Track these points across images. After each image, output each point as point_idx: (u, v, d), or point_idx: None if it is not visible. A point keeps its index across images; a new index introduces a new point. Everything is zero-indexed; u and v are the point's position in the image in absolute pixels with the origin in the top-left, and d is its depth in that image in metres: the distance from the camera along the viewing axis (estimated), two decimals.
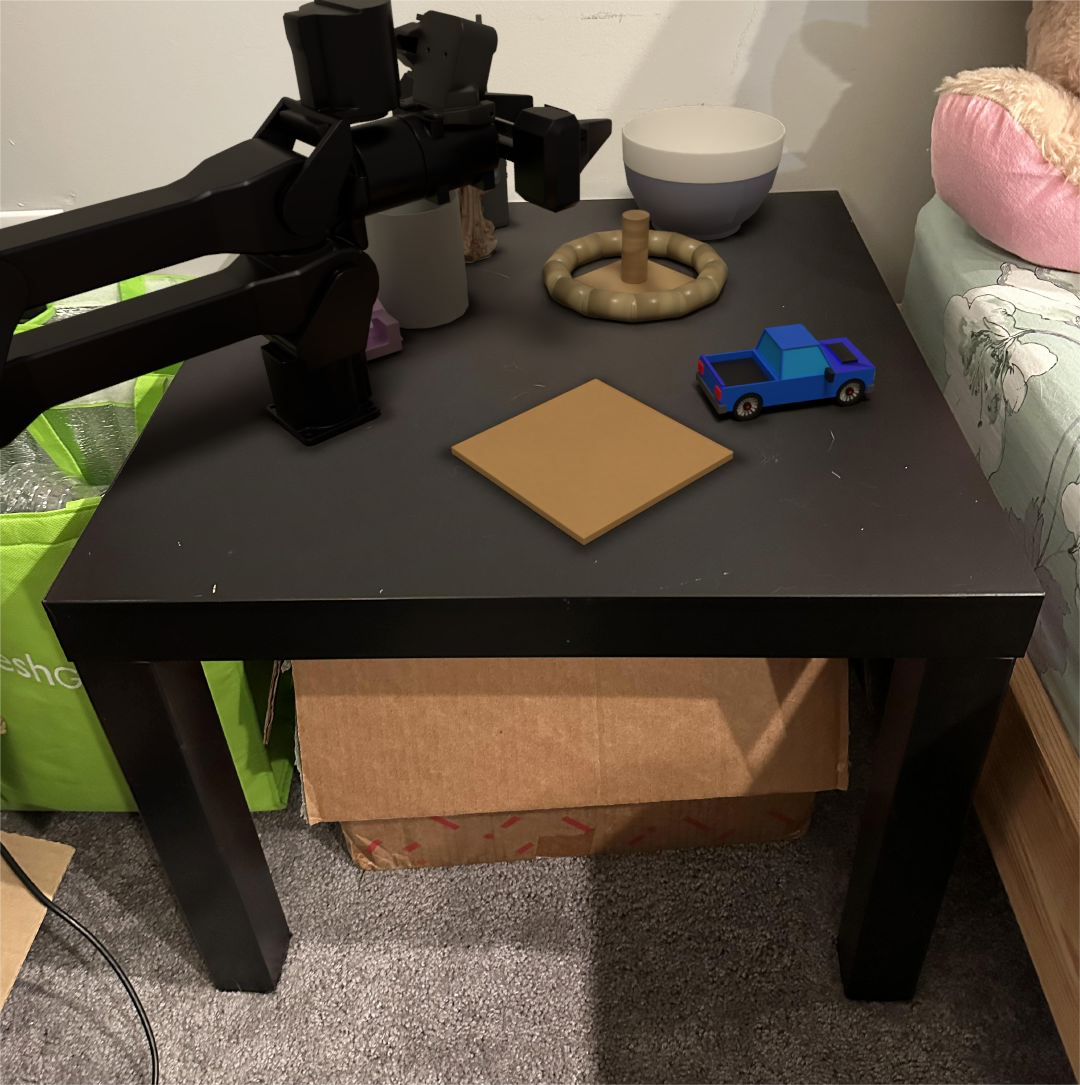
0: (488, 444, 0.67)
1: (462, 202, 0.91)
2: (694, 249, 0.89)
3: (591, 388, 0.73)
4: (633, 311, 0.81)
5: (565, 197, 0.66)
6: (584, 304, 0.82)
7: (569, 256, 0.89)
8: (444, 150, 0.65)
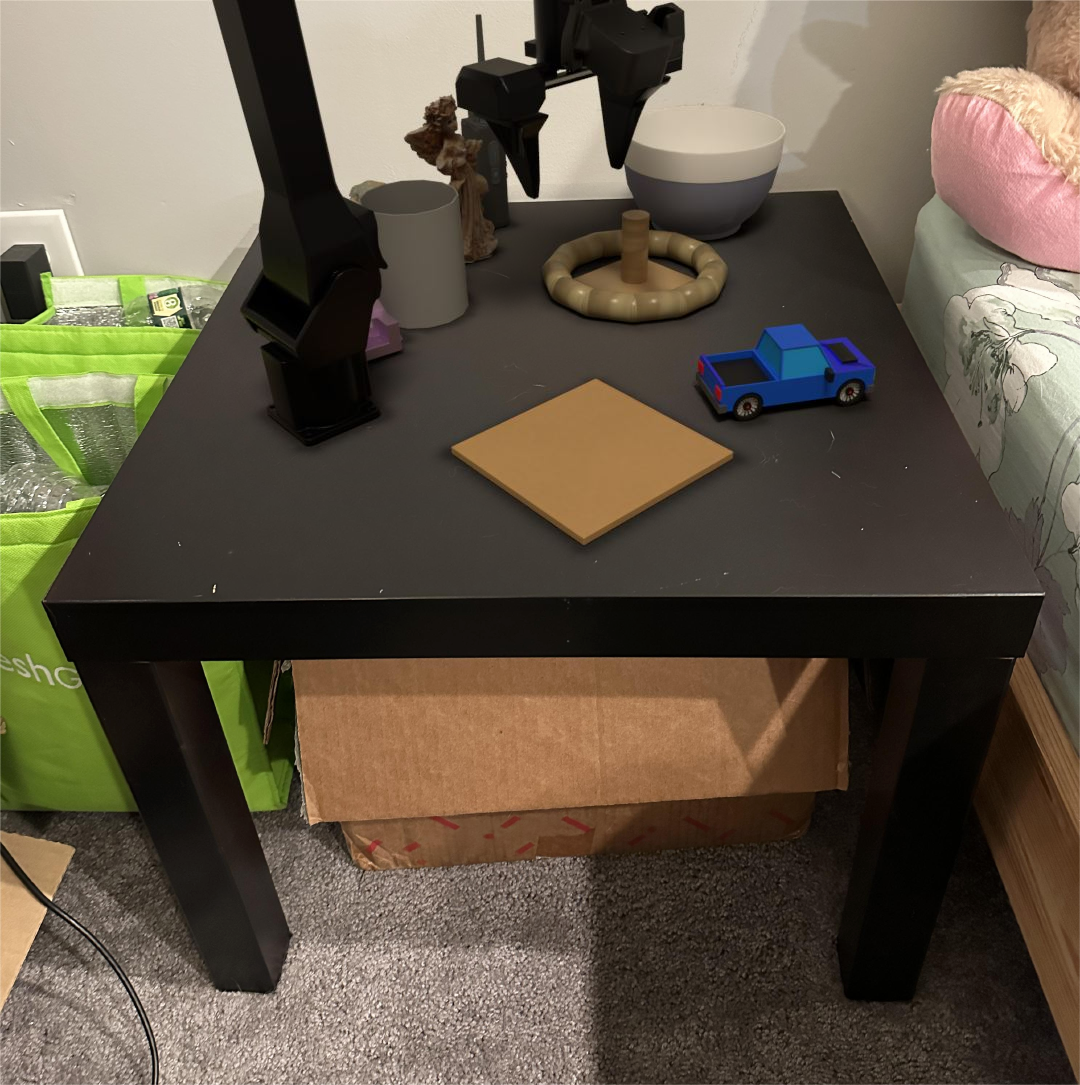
0: (488, 444, 0.67)
1: (462, 202, 0.91)
2: (694, 249, 0.89)
3: (591, 388, 0.73)
4: (633, 311, 0.81)
5: (459, 88, 0.69)
6: (584, 304, 0.82)
7: (569, 256, 0.89)
8: None
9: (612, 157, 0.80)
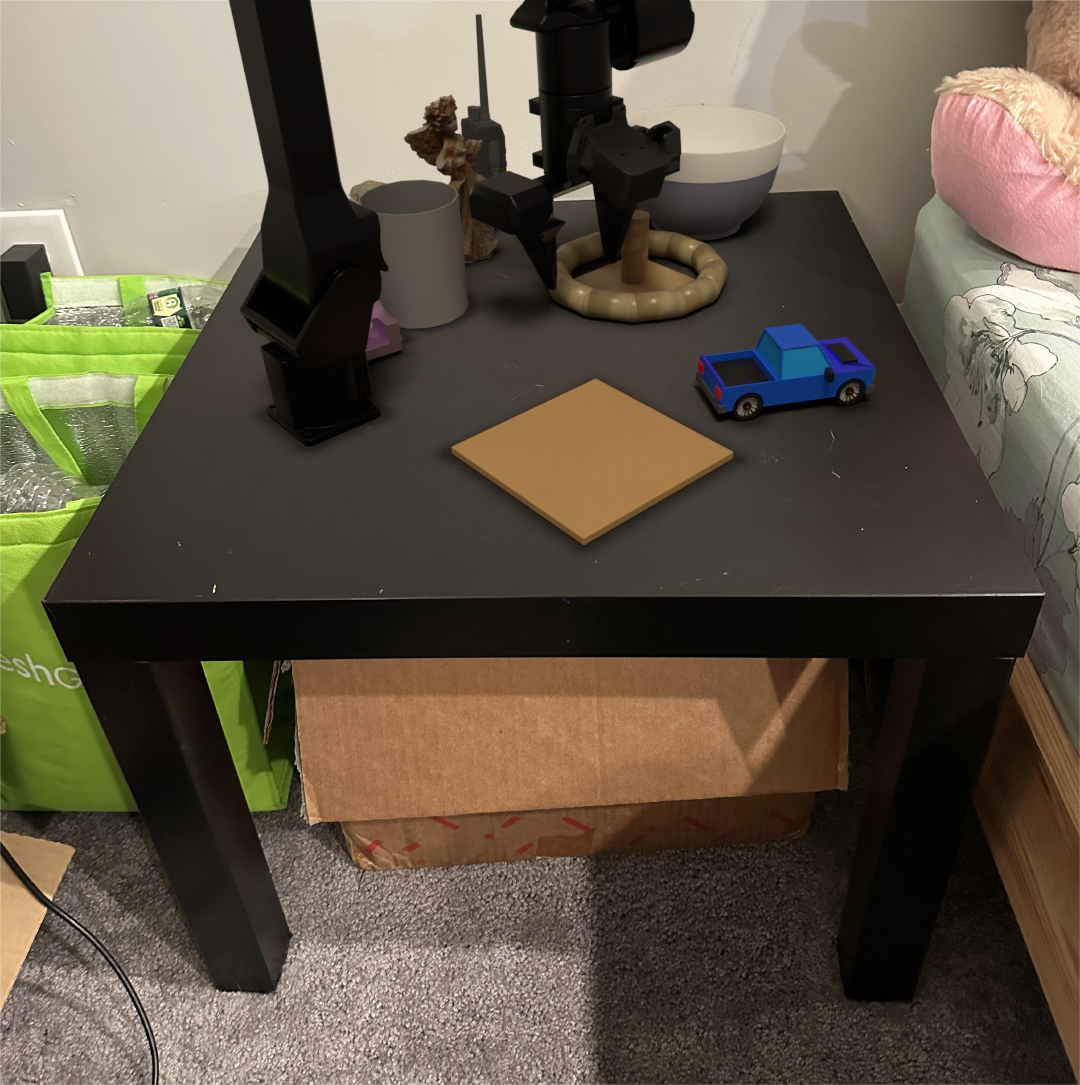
0: (488, 444, 0.67)
1: (462, 202, 0.91)
2: (694, 249, 0.89)
3: (591, 388, 0.73)
4: (633, 311, 0.81)
5: (473, 202, 0.75)
6: (584, 304, 0.82)
7: (569, 256, 0.89)
8: (556, 118, 0.73)
9: (607, 252, 0.85)
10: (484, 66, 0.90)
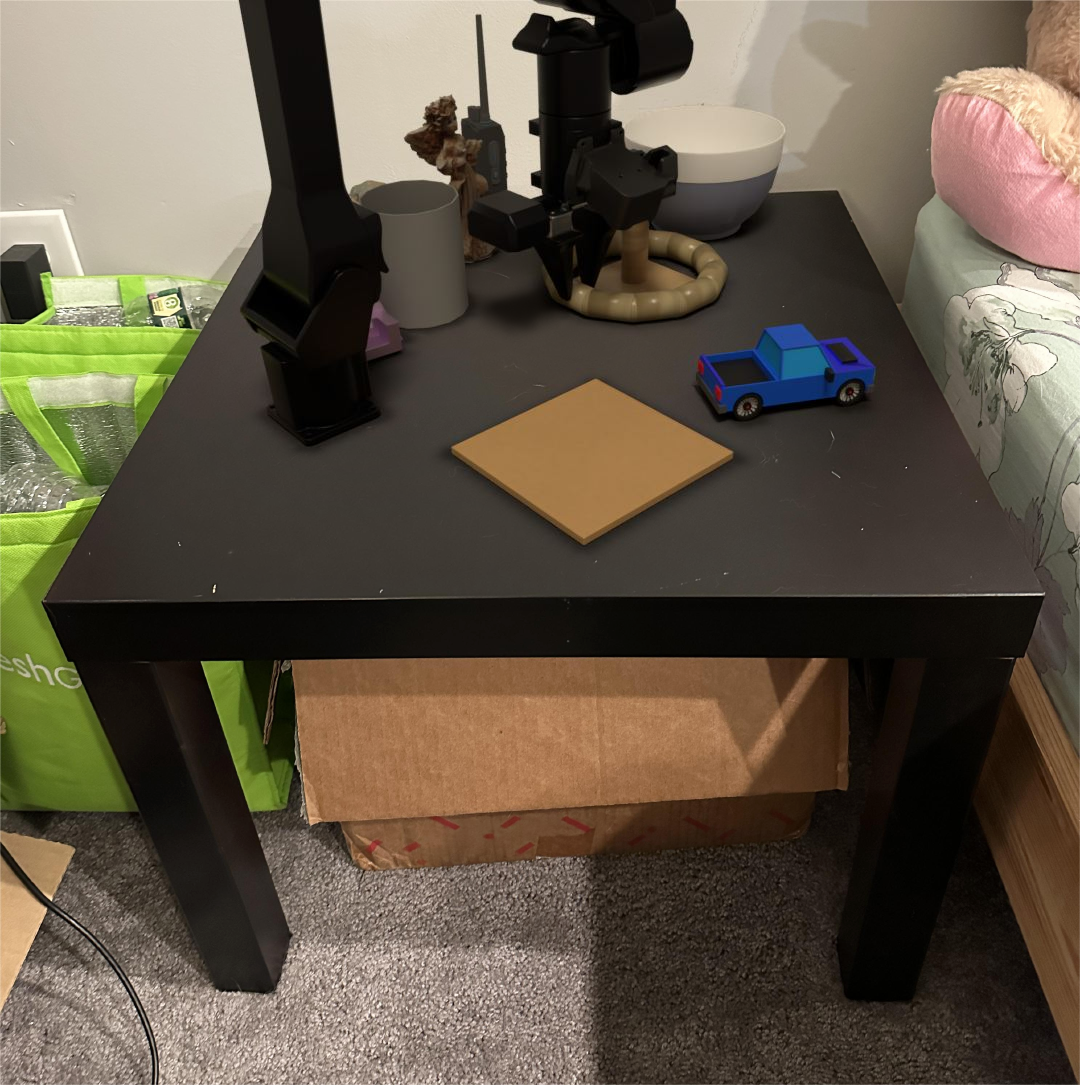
0: (488, 444, 0.67)
1: (462, 202, 0.91)
2: (694, 249, 0.89)
3: (591, 388, 0.73)
4: (633, 311, 0.81)
5: (471, 219, 0.75)
6: (584, 304, 0.82)
7: None
8: (556, 139, 0.73)
9: (584, 280, 0.84)
10: (484, 66, 0.90)
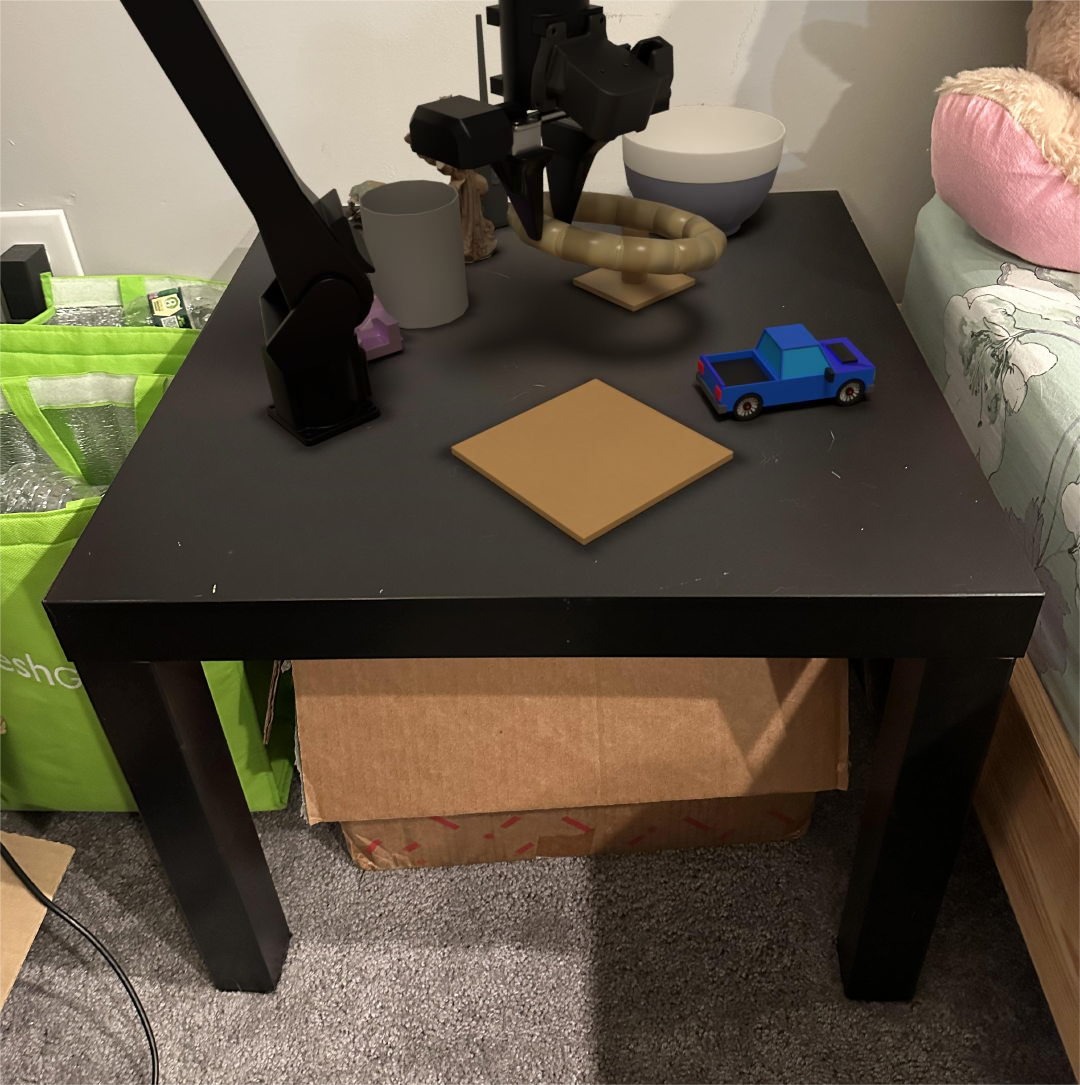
0: (488, 444, 0.67)
1: (462, 202, 0.91)
2: (687, 219, 0.76)
3: (591, 388, 0.73)
4: (619, 254, 0.66)
5: (414, 130, 0.60)
6: (559, 239, 0.67)
7: None
8: (520, 27, 0.58)
9: (558, 217, 0.69)
10: (484, 66, 0.90)
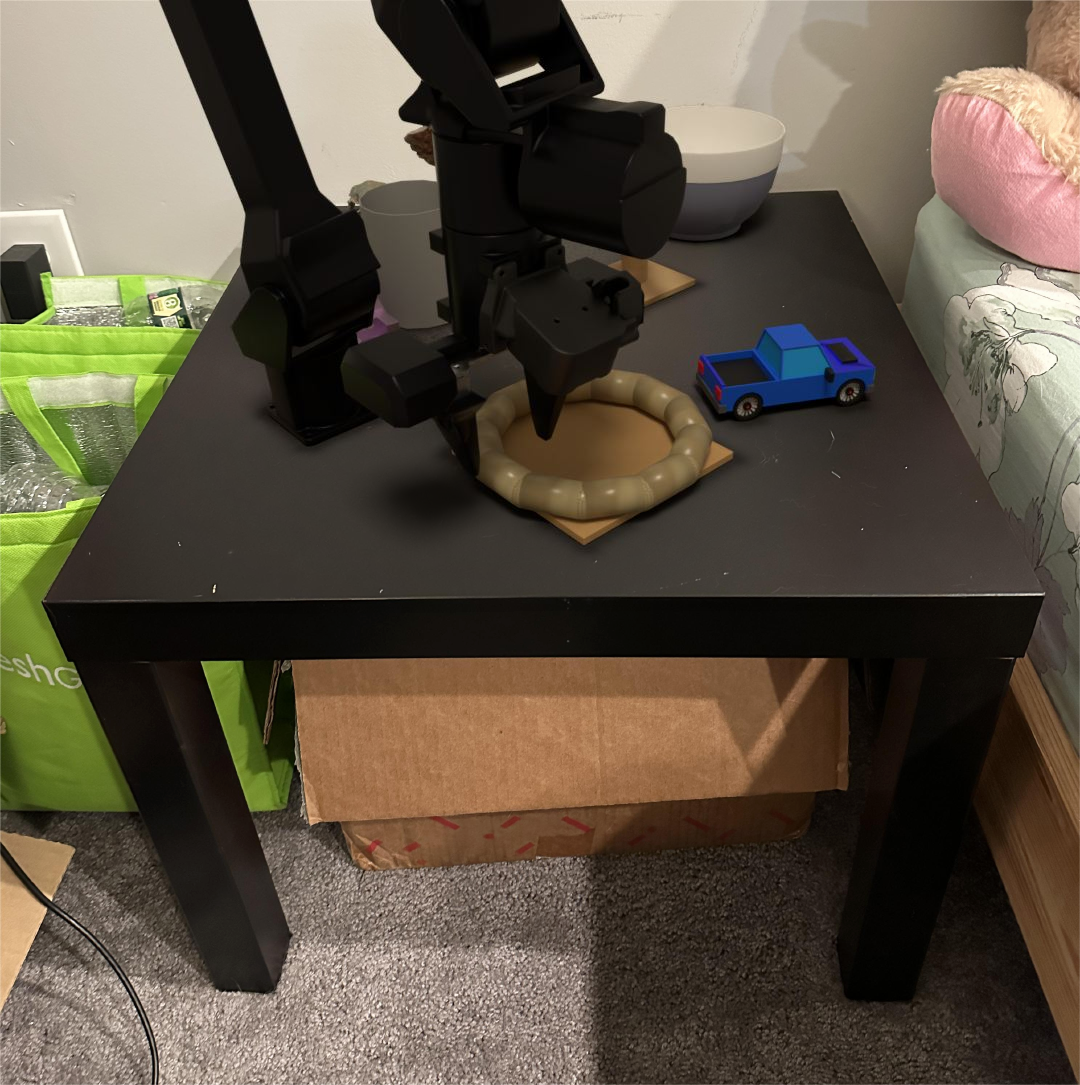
0: None
1: None
2: (668, 402, 0.67)
3: None
4: (581, 508, 0.59)
5: (346, 374, 0.52)
6: (515, 495, 0.60)
7: (502, 412, 0.67)
8: (464, 264, 0.51)
9: (538, 426, 0.62)
10: None
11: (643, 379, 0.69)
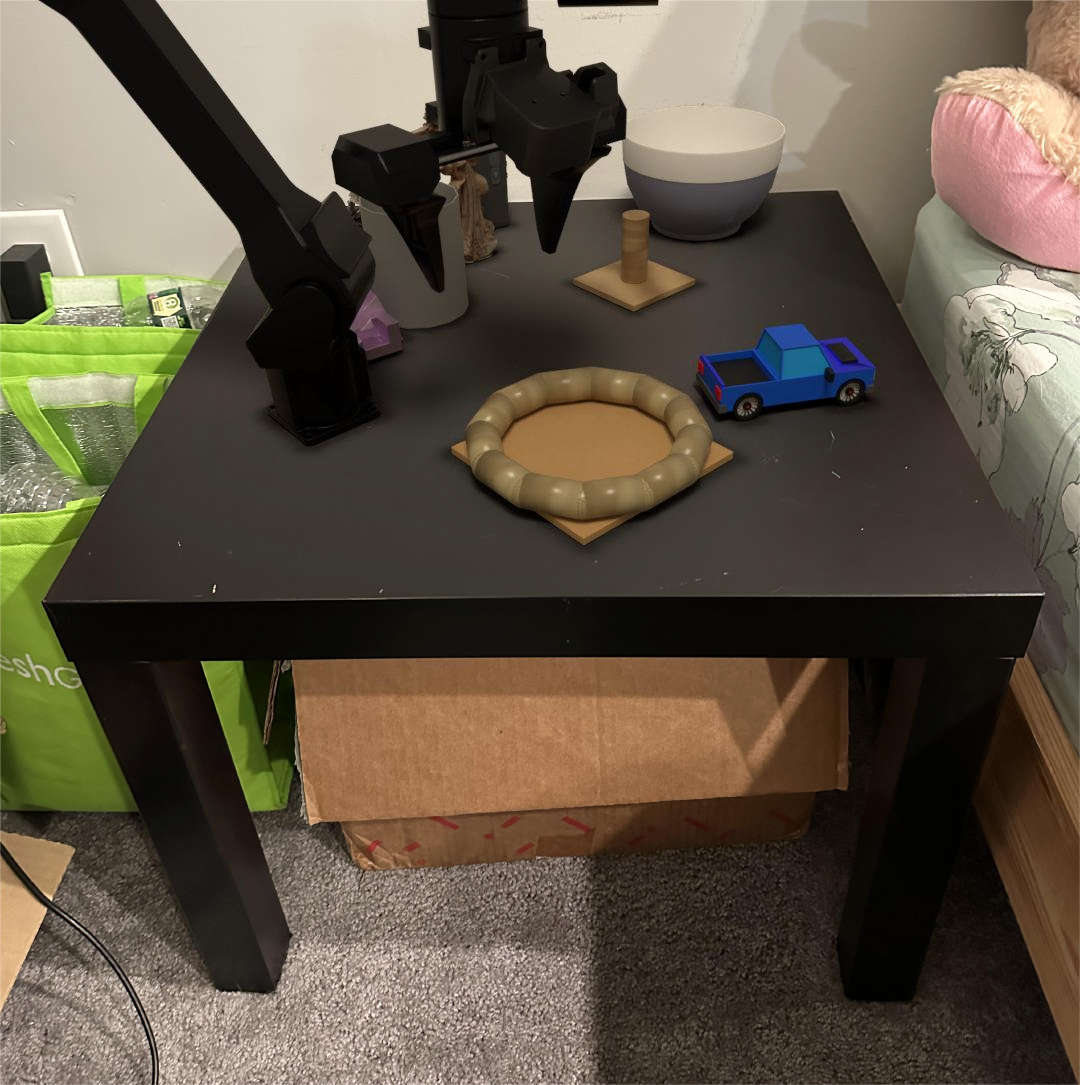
0: None
1: (462, 202, 0.91)
2: (668, 402, 0.67)
3: None
4: (581, 508, 0.59)
5: (336, 162, 0.55)
6: (515, 495, 0.60)
7: (502, 412, 0.67)
8: (449, 51, 0.53)
9: (543, 239, 0.66)
10: None
11: (643, 379, 0.69)
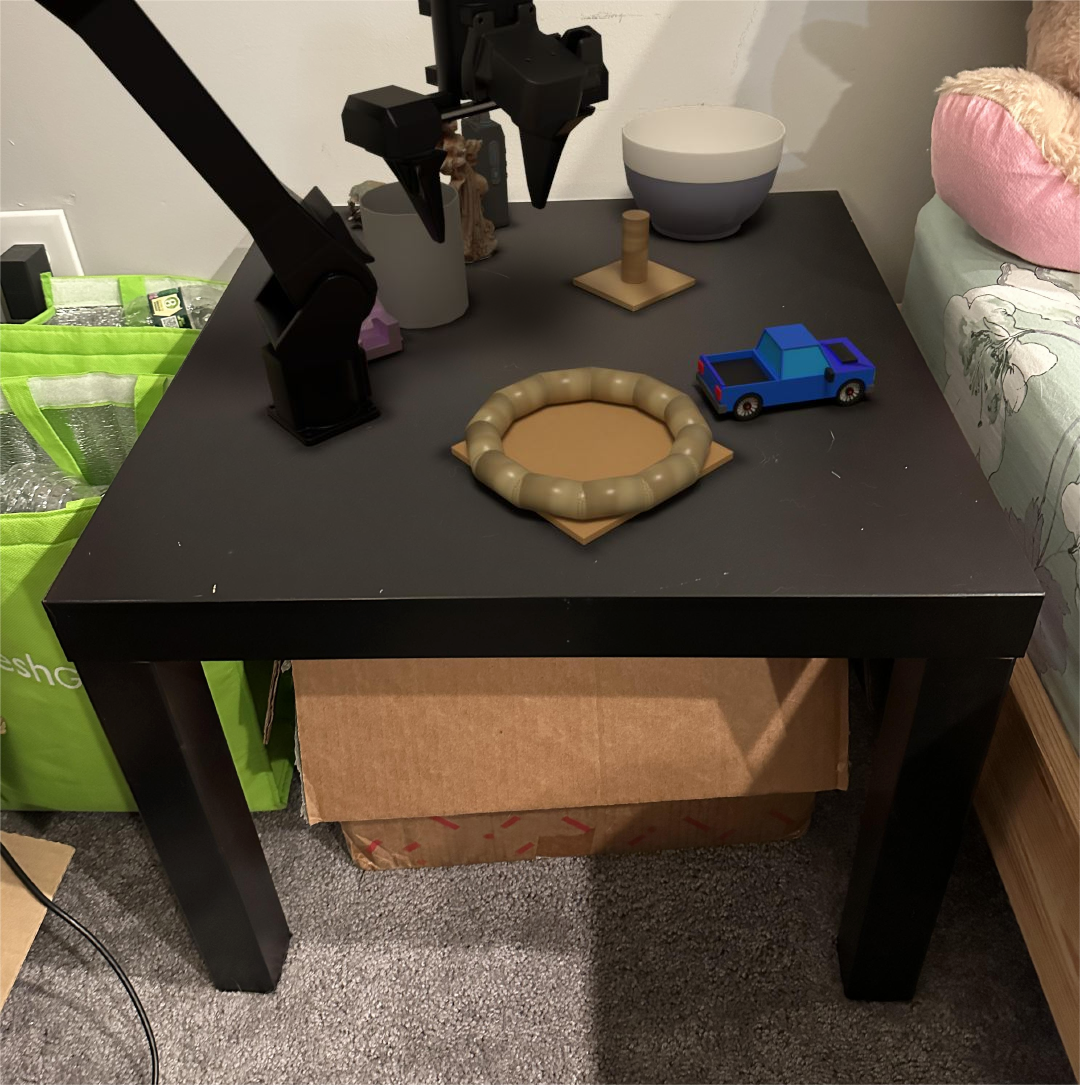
0: None
1: (462, 202, 0.91)
2: (668, 402, 0.67)
3: None
4: (581, 508, 0.59)
5: (346, 120, 0.60)
6: (515, 495, 0.60)
7: (502, 412, 0.67)
8: (448, 16, 0.58)
9: (533, 195, 0.71)
10: None
11: (643, 379, 0.69)
